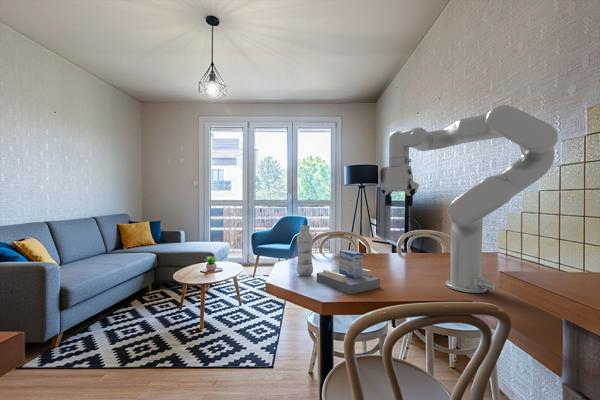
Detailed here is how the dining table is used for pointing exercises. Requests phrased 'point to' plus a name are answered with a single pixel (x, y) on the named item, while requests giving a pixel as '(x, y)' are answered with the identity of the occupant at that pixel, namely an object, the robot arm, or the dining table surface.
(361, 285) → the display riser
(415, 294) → the dining table surface
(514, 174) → the robot arm
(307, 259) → the plastic bottle
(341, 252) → the medicine box
